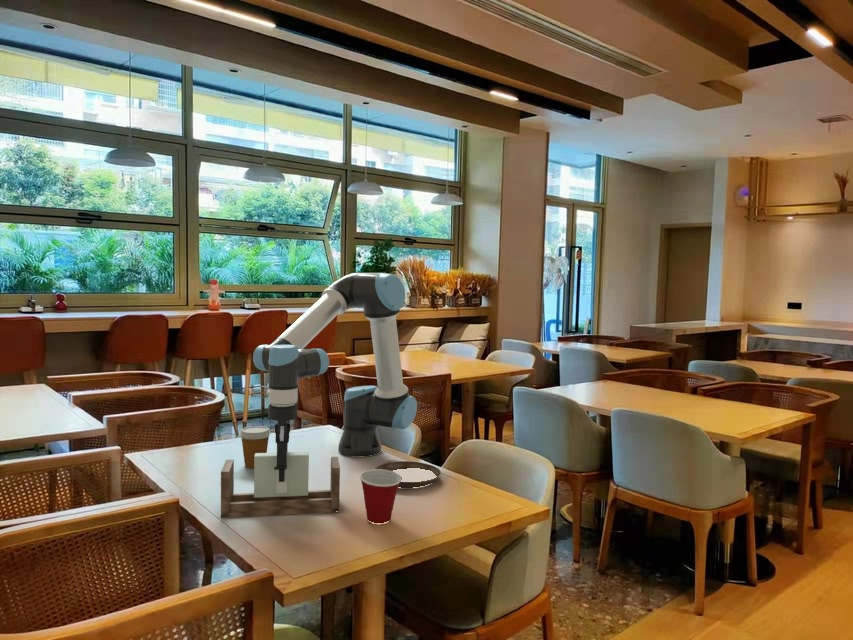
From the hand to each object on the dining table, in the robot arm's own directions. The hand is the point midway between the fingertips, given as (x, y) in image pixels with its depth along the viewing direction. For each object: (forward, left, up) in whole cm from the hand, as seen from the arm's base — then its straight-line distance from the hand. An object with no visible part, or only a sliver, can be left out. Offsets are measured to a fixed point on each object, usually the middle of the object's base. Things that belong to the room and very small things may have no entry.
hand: (281, 490), depth 163 cm
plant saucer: (-37, -18, -5) cm, 42 cm away
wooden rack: (0, 0, -5) cm, 5 cm away
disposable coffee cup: (+10, -37, -5) cm, 39 cm away
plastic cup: (-25, +12, -5) cm, 28 cm away
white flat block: (0, 0, -1) cm, 1 cm away
